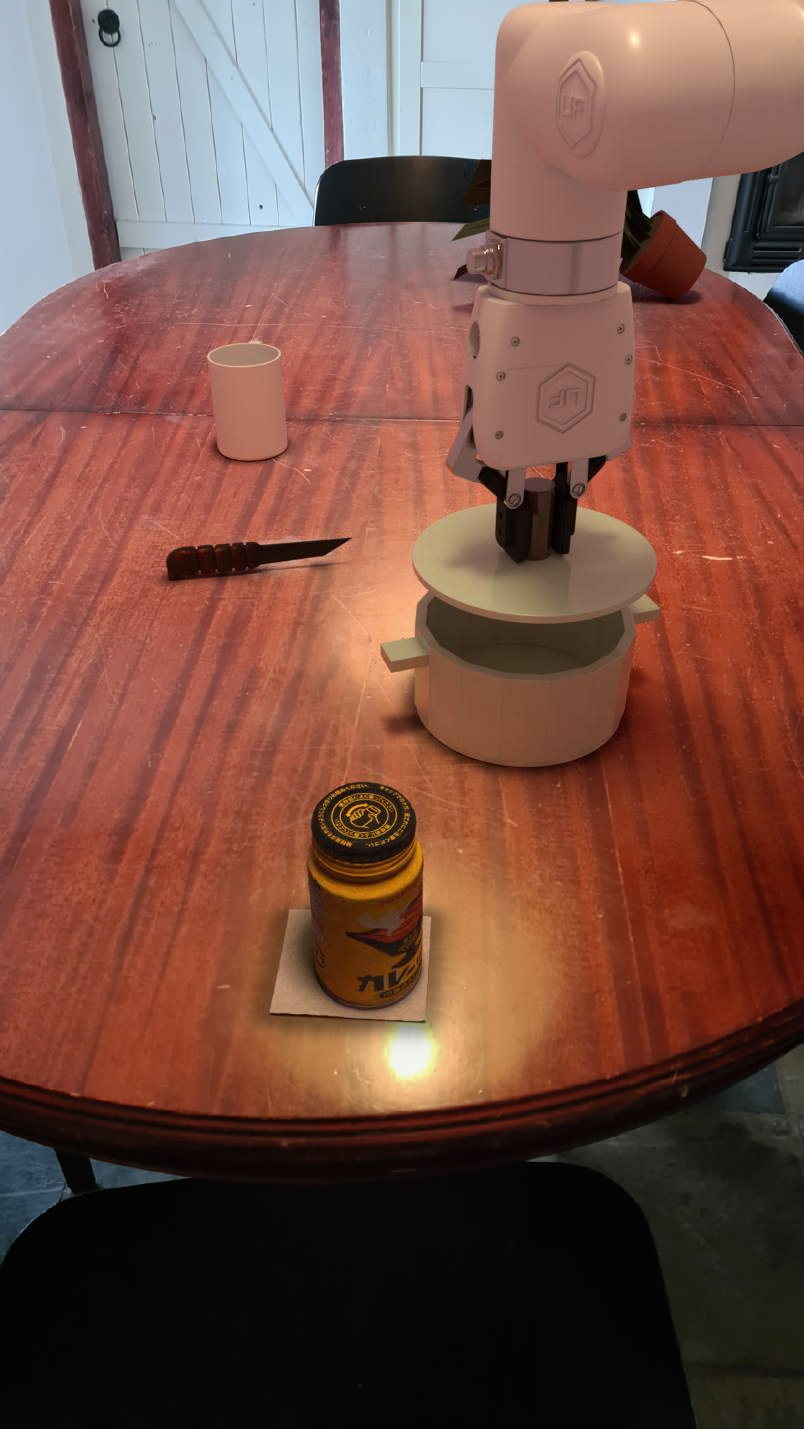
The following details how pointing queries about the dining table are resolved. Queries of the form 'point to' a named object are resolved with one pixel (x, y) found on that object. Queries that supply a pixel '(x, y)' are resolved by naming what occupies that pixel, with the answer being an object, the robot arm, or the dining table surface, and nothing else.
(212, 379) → the mug
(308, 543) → the knife
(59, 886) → the dining table surface
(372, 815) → the condiment
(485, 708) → the pot
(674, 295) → the potted plant
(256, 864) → the dining table surface
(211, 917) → the dining table surface
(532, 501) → the lid
